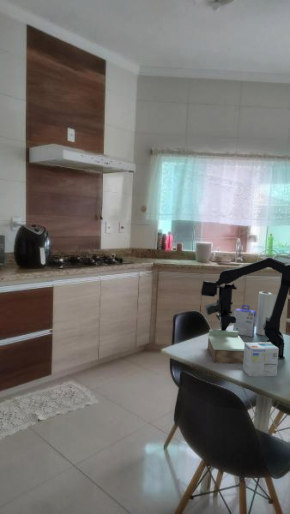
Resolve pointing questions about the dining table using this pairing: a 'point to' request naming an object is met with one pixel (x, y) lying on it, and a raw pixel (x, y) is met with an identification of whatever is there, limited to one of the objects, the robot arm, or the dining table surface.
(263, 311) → the paper towel roll
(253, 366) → the light bulb box
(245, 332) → the ink cartridge box
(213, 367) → the dining table surface
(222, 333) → the lid
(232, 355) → the box
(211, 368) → the dining table surface
